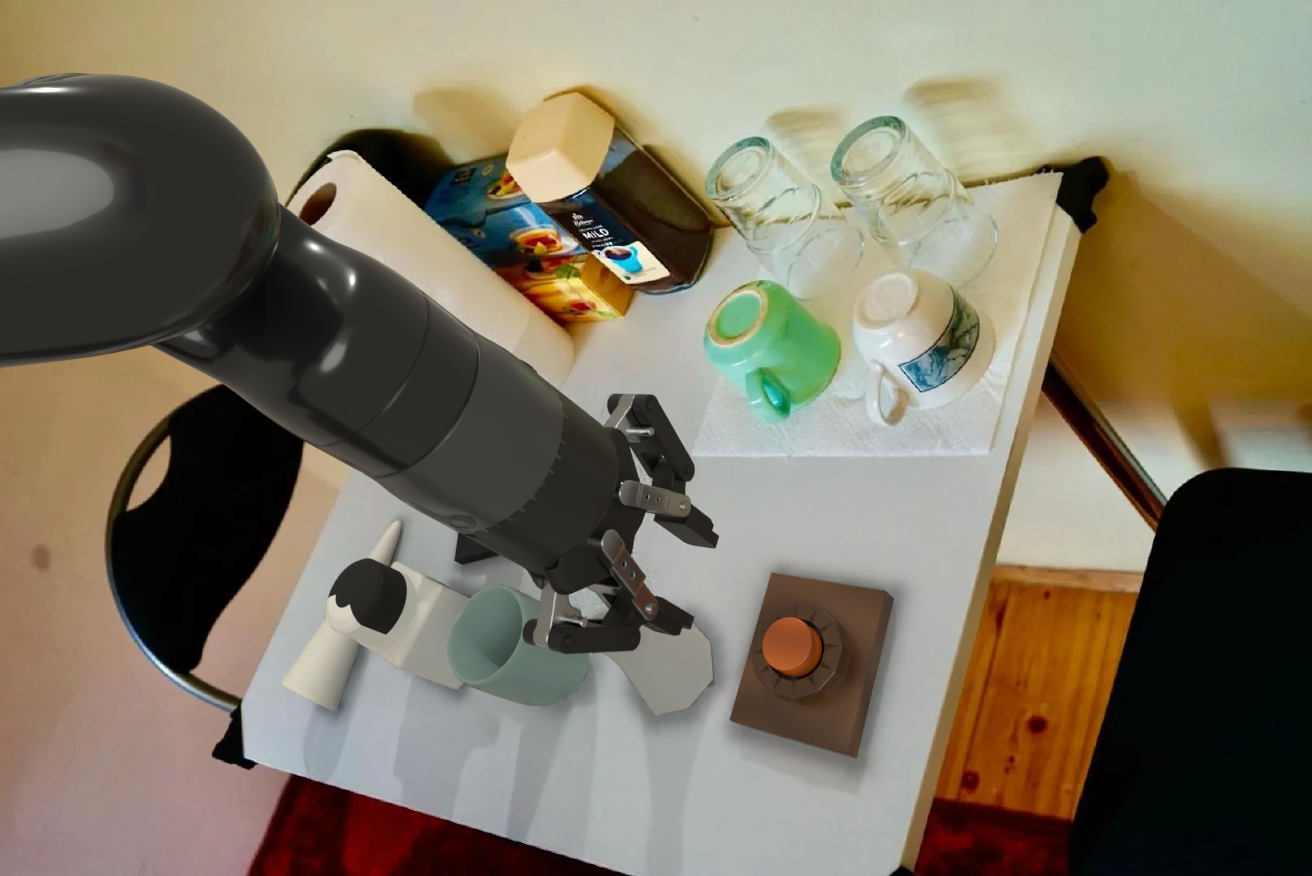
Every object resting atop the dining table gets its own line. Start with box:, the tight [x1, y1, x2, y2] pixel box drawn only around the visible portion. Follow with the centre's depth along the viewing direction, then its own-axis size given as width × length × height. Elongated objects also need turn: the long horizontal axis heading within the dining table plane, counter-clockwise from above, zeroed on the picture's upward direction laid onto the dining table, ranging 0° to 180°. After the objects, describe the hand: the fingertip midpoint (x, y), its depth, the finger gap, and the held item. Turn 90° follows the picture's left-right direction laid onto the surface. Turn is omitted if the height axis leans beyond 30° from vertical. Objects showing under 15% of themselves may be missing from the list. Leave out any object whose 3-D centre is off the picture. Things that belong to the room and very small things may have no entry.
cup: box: [447, 583, 590, 707], centre depth 71 cm, size 8×8×10 cm
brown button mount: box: [729, 572, 895, 760], centre depth 61 cm, size 11×9×4 cm
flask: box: [586, 605, 714, 717], centre depth 65 cm, size 7×7×10 cm
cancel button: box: [762, 617, 822, 677], centre depth 60 cm, size 4×4×2 cm
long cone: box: [280, 520, 402, 712], centre depth 90 cm, size 6×6×19 cm
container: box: [325, 557, 472, 690], centre depth 79 cm, size 8×8×13 cm
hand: (691, 580), depth 50 cm, fingers open, 4 cm apart
